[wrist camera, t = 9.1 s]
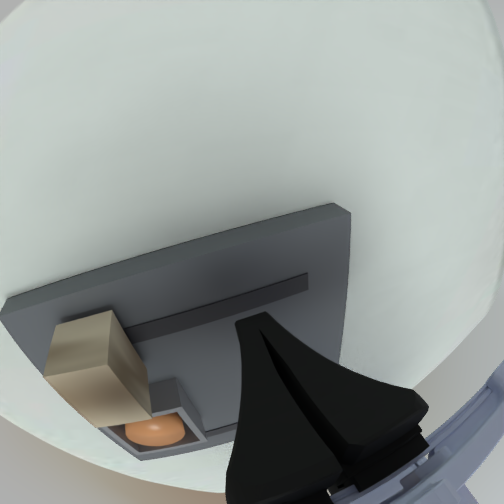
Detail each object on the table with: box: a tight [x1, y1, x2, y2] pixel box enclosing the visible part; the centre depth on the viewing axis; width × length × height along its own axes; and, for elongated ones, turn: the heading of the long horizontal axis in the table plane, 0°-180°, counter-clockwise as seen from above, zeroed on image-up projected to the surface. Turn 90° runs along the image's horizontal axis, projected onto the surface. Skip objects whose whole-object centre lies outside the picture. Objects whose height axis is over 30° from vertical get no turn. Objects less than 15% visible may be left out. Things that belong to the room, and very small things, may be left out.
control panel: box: [0, 203, 351, 461], centre depth 15 cm, size 18×18×4 cm
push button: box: [125, 412, 185, 446], centre depth 14 cm, size 4×4×2 cm
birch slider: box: [43, 310, 153, 428], centre depth 10 cm, size 4×3×3 cm
